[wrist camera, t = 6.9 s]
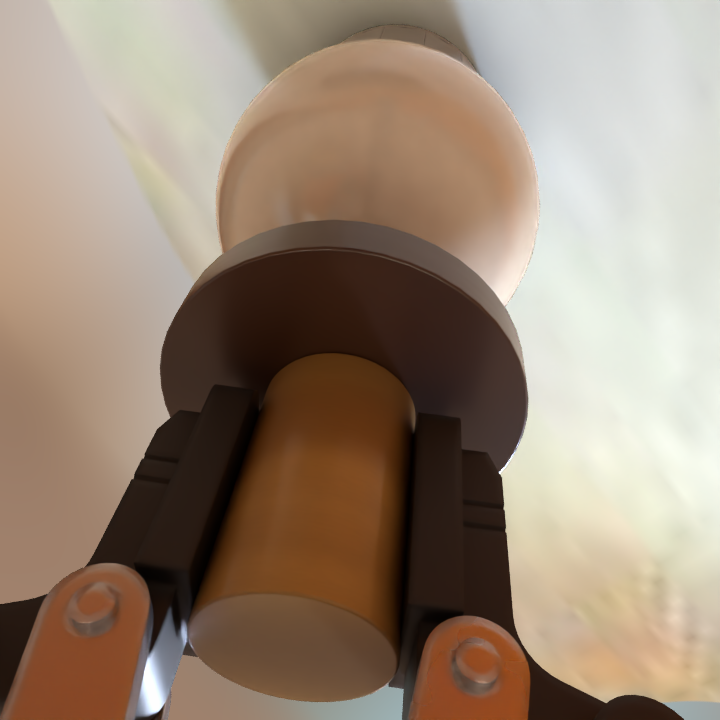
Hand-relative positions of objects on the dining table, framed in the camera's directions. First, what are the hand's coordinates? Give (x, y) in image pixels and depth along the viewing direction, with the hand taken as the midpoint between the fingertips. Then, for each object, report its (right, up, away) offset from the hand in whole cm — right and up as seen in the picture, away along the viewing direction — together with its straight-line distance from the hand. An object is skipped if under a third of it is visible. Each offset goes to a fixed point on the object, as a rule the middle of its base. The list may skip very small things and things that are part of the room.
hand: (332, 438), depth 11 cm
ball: (+1, +6, +7) cm, 9 cm away
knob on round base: (0, +1, +1) cm, 2 cm away
